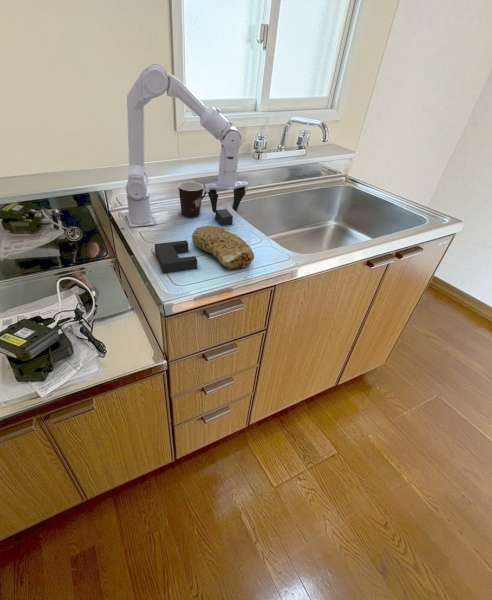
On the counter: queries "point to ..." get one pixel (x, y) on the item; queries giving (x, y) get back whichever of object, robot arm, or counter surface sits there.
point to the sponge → (223, 246)
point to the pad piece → (224, 217)
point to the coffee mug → (191, 198)
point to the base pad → (174, 257)
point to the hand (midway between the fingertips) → (224, 210)
